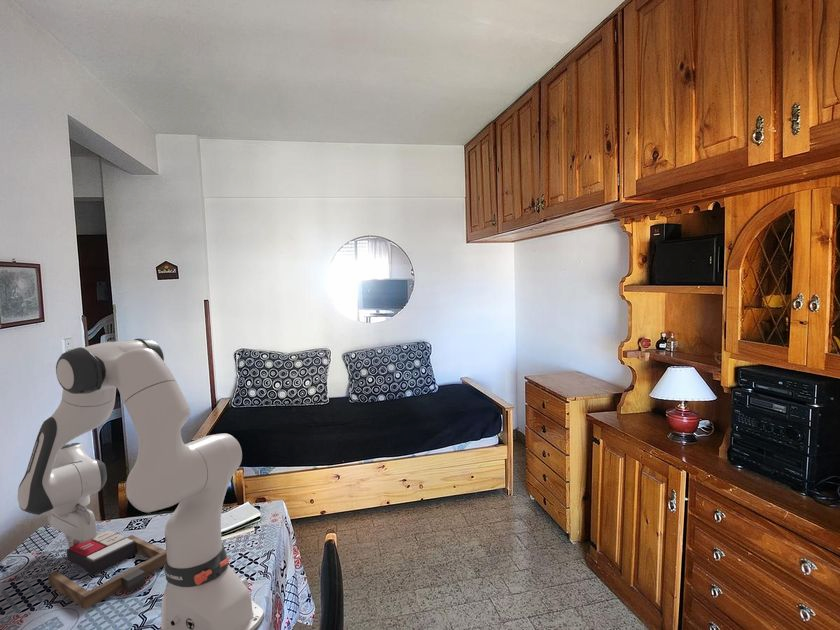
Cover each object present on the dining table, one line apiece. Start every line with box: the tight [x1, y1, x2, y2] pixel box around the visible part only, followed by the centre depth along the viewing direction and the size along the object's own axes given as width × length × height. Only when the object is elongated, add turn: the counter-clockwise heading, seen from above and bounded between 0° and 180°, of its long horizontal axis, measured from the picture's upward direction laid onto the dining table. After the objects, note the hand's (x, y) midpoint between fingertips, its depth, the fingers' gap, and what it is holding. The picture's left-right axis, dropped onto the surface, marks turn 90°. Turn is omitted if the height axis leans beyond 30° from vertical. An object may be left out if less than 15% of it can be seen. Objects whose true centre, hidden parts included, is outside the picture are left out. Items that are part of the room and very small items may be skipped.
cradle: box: [48, 534, 167, 610], centre depth 117 cm, size 22×20×3 cm
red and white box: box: [66, 529, 138, 576], centre depth 126 cm, size 11×4×15 cm
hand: (74, 548), depth 128 cm, fingers closed
